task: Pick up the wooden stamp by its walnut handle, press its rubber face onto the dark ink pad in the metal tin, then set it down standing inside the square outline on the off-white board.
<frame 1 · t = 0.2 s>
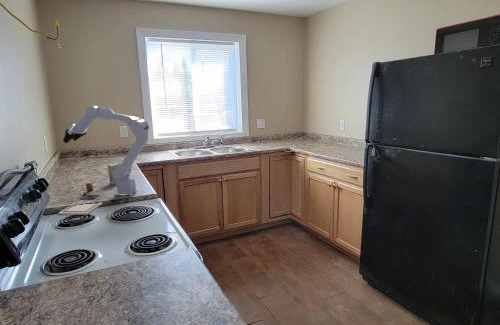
hand: (69, 140, 169), 30 cm above the worktop, tool tilted 45°, fingers open, 7 cm apart
ink pad: (90, 199, 165), on the worktop
marked board: (81, 208, 152), on the worktop
skincare box: (116, 183, 194), on the worktop
stamp: (90, 193, 175), on the worktop
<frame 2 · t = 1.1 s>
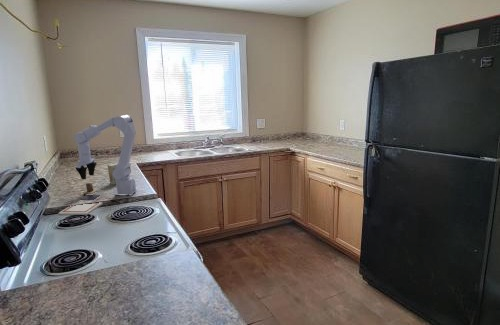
hand: (87, 177, 173), 10 cm above the worktop, tool pointing down, fingers open, 7 cm apart
nothing on the worktop moved.
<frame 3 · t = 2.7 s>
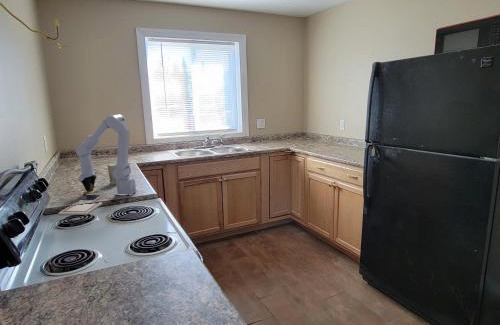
hand: (89, 189, 175), 2 cm above the worktop, tool pointing down, fingers closed on stamp, 3 cm apart
stamp: (90, 193, 175), on the worktop, touching gripper
everything else where it was.
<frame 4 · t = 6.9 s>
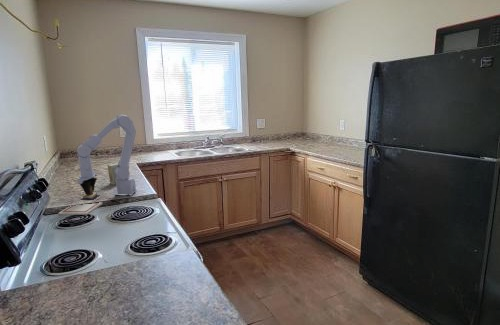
hand: (89, 192, 164), 4 cm above the worktop, tool pointing down, fingers closed on stamp, 3 cm apart
stamp: (90, 197, 165), point 1 cm above the worktop, touching gripper, ink pad
everything else where it was.
when the fingers open (4 cm above the worktop, at t = 11.5 s): stamp stays where it is, resting on marked board.
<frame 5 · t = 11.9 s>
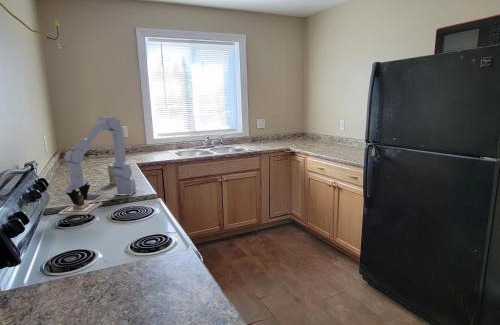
hand: (80, 201, 151), 4 cm above the worktop, tool pointing down, fingers open, 6 cm apart
stamp: (81, 207, 152), point 1 cm above the worktop, touching marked board
everything else where it was.
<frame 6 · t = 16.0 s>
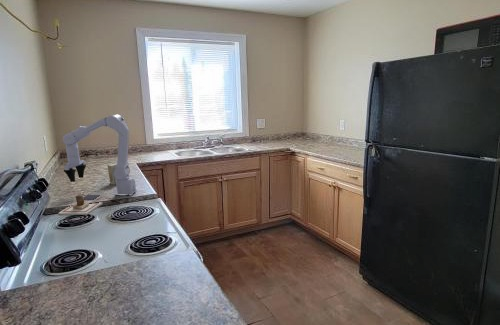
hand: (77, 179, 169), 9 cm above the worktop, tool pointing down, fingers open, 7 cm apart
nothing on the worktop moved.
at the end: stamp 0.1 cm off-centre on the marked board, point 0.8 cm above the marked board's base; stamp tilted 0°; the gripper is holding nothing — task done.
